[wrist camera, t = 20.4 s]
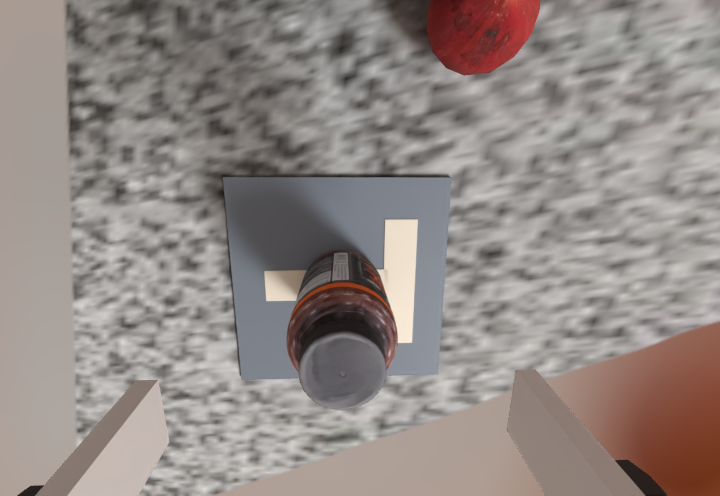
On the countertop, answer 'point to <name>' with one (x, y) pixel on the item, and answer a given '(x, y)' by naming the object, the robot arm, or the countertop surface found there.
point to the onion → (479, 32)
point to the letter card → (331, 233)
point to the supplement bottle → (342, 331)
